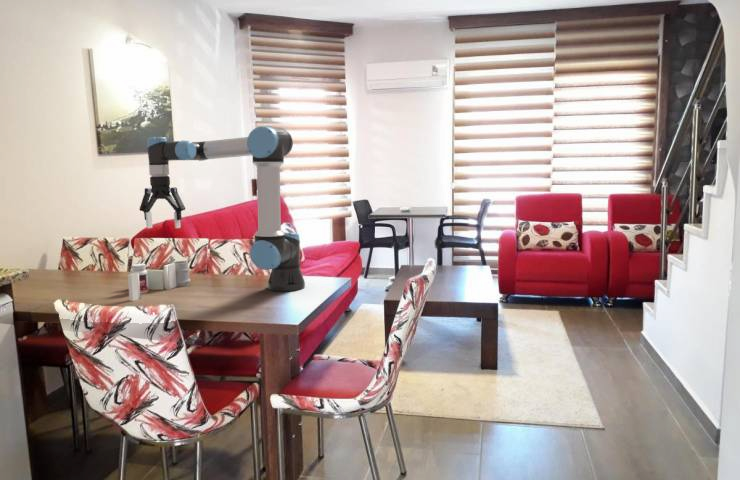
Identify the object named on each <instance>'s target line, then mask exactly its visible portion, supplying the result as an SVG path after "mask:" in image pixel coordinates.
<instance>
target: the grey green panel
mask: <svg viewBox="0 0 740 480" xmlns="http://www.w3.org/2000/svg"><path fill="white" fill-rule="evenodd" d="M129 270H130V272H129V274H131V272H132V271H133V270H132V268H131V269H129ZM145 270H146V271H147V274H148V290H157V291H158V290H163V291H164V290H165V282H164V269H145Z"/></svg>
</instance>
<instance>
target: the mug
mask: <svg viewBox="0 0 740 480" xmlns="http://www.w3.org/2000/svg"><path fill="white" fill-rule="evenodd" d="M171 263H174V264H175V271H176V287H175V288H177V287H187V286H190V284H191V280H192V279H191V278H190V267H189V262H188V261H187V260H177V261H175V259H174V256H173V255H171V256H169V264H171Z"/></svg>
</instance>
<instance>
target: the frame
mask: <svg viewBox="0 0 740 480" xmlns="http://www.w3.org/2000/svg"><path fill="white" fill-rule="evenodd" d="M163 275H164V291H168V290H172V289H174V288H177V287H176V271H175V264H174V263H171V264H165V265H163ZM127 281H128V283H127V284H128V297H129V298H128V299H129V301H130V302H134V301H138V300H140V299H141V294H140V282H139V273H133V274H130V273H129V274H127Z"/></svg>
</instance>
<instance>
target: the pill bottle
mask: <svg viewBox="0 0 740 480" xmlns="http://www.w3.org/2000/svg"><path fill="white" fill-rule="evenodd" d="M131 269H132V270H133V271H132V272H131V274H133V273H139V282H140V295H142V294H146V293H148V292H149V289H148V274H147V271H146V270H147V266H146V263H135V264H131Z"/></svg>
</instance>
